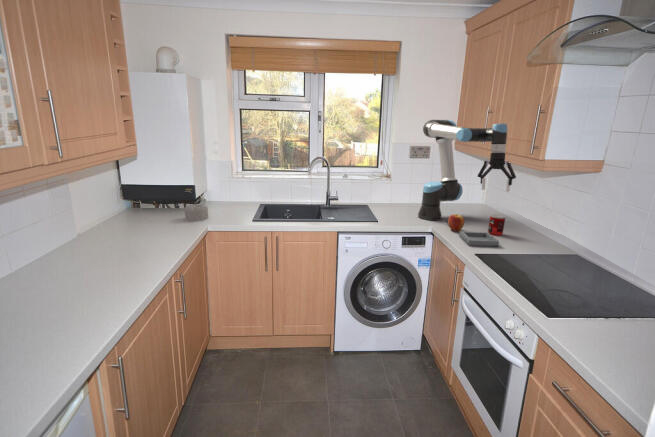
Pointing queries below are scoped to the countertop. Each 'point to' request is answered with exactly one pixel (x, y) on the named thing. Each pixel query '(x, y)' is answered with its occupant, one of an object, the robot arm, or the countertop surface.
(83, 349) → the countertop surface
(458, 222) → the apple
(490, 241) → the tray
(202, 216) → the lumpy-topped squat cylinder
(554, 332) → the countertop surface
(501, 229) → the canned food
